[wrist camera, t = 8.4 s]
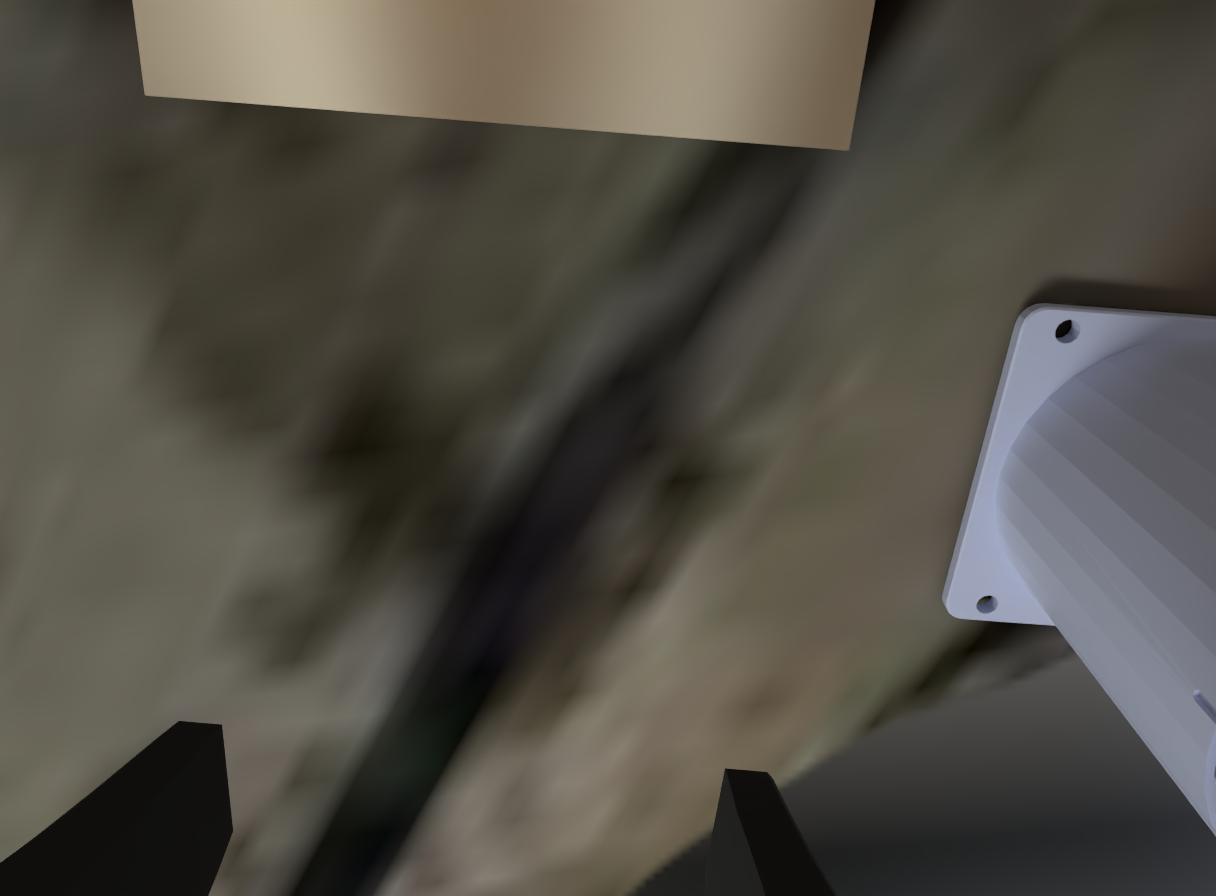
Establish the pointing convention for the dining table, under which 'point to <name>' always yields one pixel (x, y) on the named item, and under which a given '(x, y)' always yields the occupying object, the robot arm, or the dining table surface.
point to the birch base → (528, 62)
